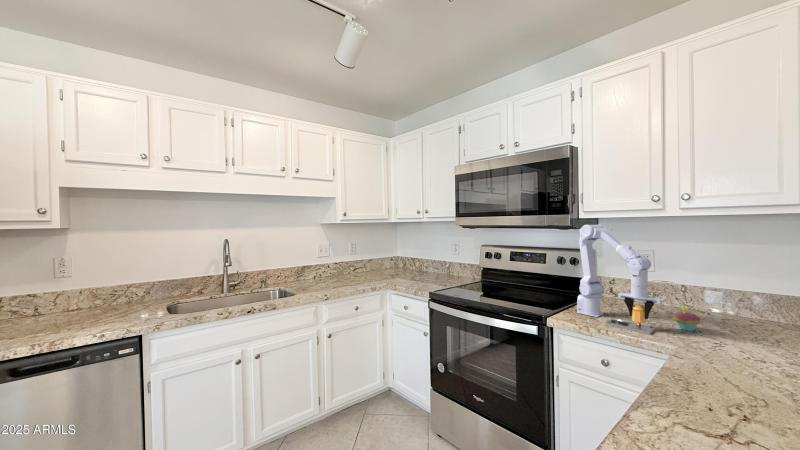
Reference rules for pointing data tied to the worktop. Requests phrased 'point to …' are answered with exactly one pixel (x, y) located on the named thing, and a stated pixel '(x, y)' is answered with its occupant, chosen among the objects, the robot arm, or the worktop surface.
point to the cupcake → (686, 320)
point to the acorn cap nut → (638, 313)
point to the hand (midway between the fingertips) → (639, 317)
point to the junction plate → (631, 326)
